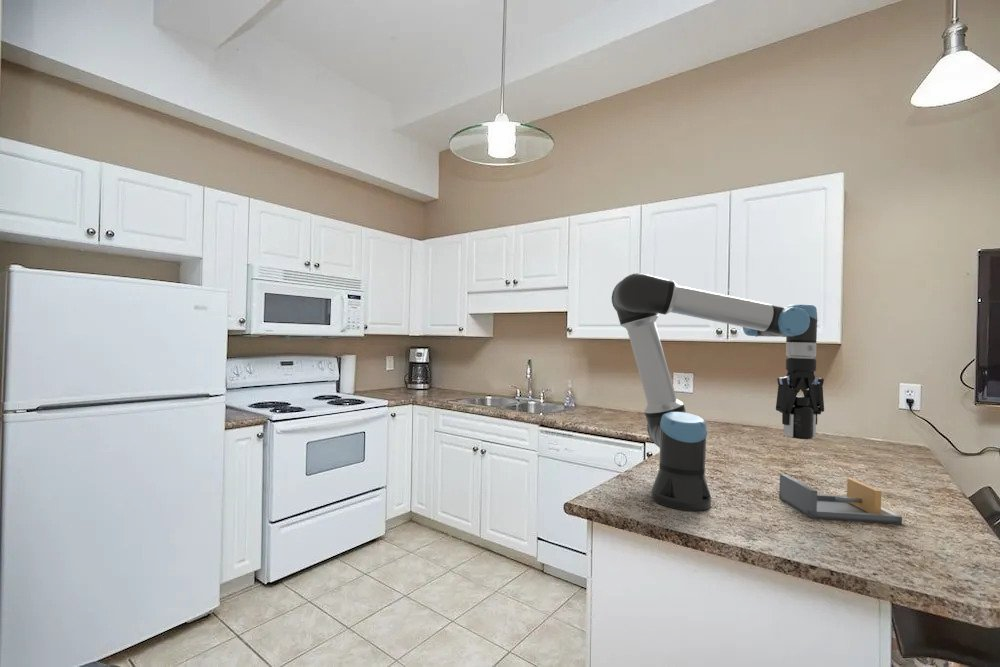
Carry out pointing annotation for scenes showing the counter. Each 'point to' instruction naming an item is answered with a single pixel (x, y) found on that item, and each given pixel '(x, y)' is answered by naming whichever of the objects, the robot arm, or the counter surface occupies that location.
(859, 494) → the pusher
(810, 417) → the supplement bottle
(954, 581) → the counter surface
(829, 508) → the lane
